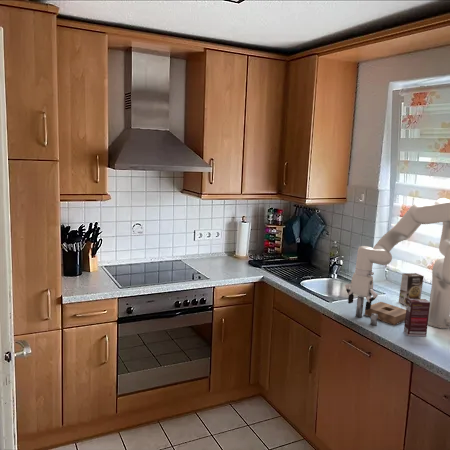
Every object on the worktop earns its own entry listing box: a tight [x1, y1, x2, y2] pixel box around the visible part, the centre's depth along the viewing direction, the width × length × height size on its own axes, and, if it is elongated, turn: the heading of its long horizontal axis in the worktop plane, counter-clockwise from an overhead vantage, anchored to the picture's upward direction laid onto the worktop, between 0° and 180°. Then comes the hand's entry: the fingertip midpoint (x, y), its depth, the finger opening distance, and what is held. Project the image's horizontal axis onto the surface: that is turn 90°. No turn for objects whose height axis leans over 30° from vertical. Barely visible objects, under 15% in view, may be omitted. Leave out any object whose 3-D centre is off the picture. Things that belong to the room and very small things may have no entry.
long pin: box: [355, 295, 365, 318], centre depth 227 cm, size 3×3×10 cm
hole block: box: [364, 301, 406, 326], centre depth 229 cm, size 16×14×4 cm
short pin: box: [369, 313, 379, 327], centre depth 218 cm, size 3×3×5 cm
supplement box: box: [403, 298, 430, 337], centre depth 208 cm, size 9×5×16 cm, turn 92°
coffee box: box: [398, 272, 425, 307], centre depth 250 cm, size 9×6×16 cm
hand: (358, 306), depth 227 cm, fingers open, 9 cm apart
